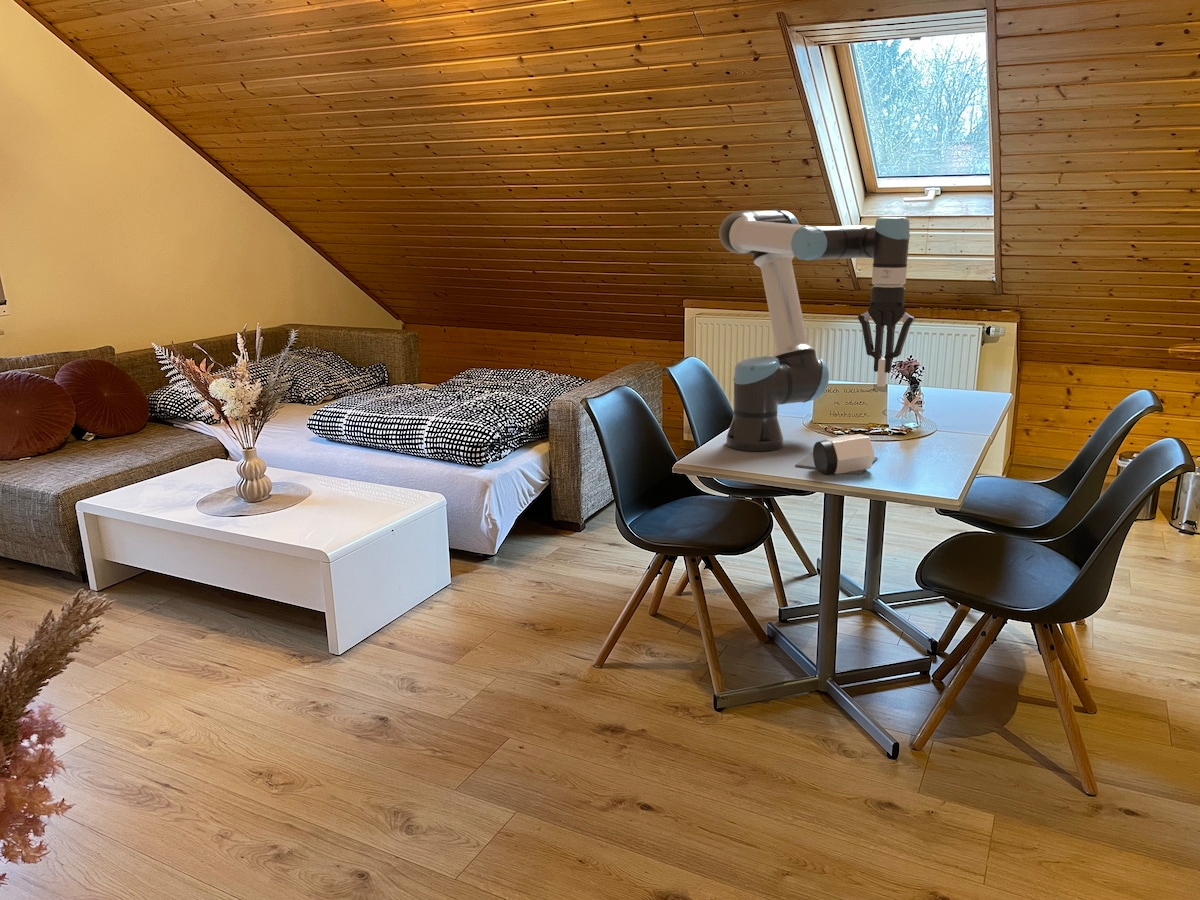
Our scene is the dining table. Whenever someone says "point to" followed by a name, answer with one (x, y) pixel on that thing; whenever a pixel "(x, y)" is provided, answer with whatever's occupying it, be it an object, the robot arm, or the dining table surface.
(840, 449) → the jar
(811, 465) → the mat
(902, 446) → the dining table surface
